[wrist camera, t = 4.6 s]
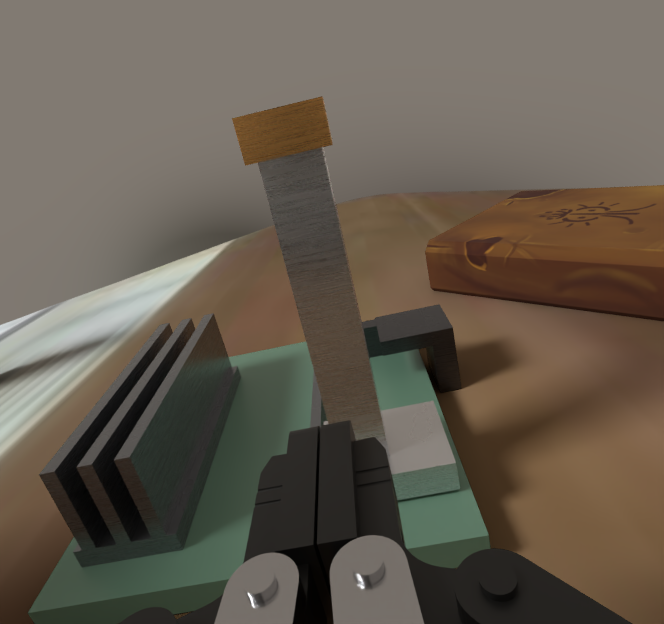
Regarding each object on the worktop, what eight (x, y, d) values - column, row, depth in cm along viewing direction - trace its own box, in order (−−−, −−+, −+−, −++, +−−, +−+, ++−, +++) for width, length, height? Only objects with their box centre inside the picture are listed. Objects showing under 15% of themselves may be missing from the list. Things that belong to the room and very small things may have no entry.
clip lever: (460, 489, 22) (395, 77, 16) (330, 512, 22) (215, 121, 16) (437, 423, 26) (379, 86, 20) (329, 443, 27) (241, 120, 21)
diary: (432, 298, 49) (423, 243, 47) (524, 238, 59) (520, 191, 57) (717, 337, 32) (723, 253, 30) (775, 244, 42) (783, 177, 40)
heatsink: (523, 516, 22) (510, 383, 19) (94, 589, 23) (29, 476, 21) (441, 348, 38) (428, 262, 35) (189, 398, 39) (158, 320, 37)
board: (492, 561, 20) (488, 535, 20) (42, 635, 22) (27, 613, 21) (410, 336, 40) (407, 320, 40) (181, 383, 42) (175, 368, 41)
